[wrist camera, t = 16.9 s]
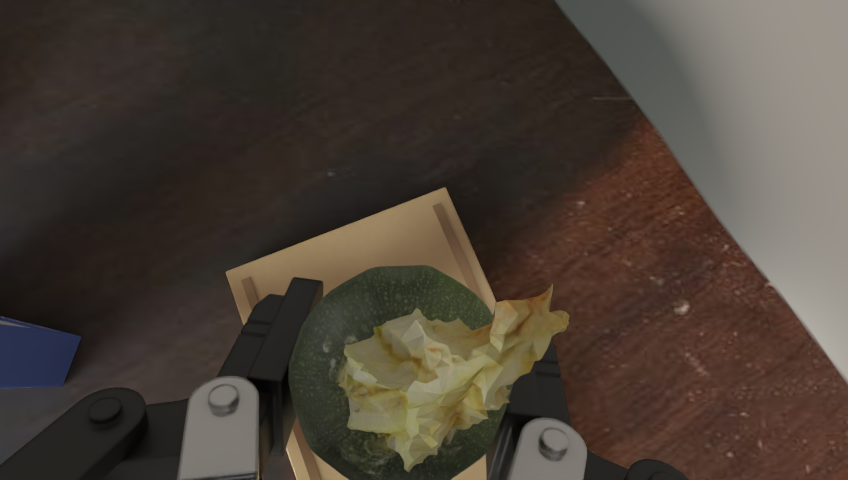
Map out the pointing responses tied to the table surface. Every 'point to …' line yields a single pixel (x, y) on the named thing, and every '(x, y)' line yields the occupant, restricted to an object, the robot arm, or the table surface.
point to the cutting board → (353, 254)
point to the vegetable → (411, 372)
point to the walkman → (34, 354)
